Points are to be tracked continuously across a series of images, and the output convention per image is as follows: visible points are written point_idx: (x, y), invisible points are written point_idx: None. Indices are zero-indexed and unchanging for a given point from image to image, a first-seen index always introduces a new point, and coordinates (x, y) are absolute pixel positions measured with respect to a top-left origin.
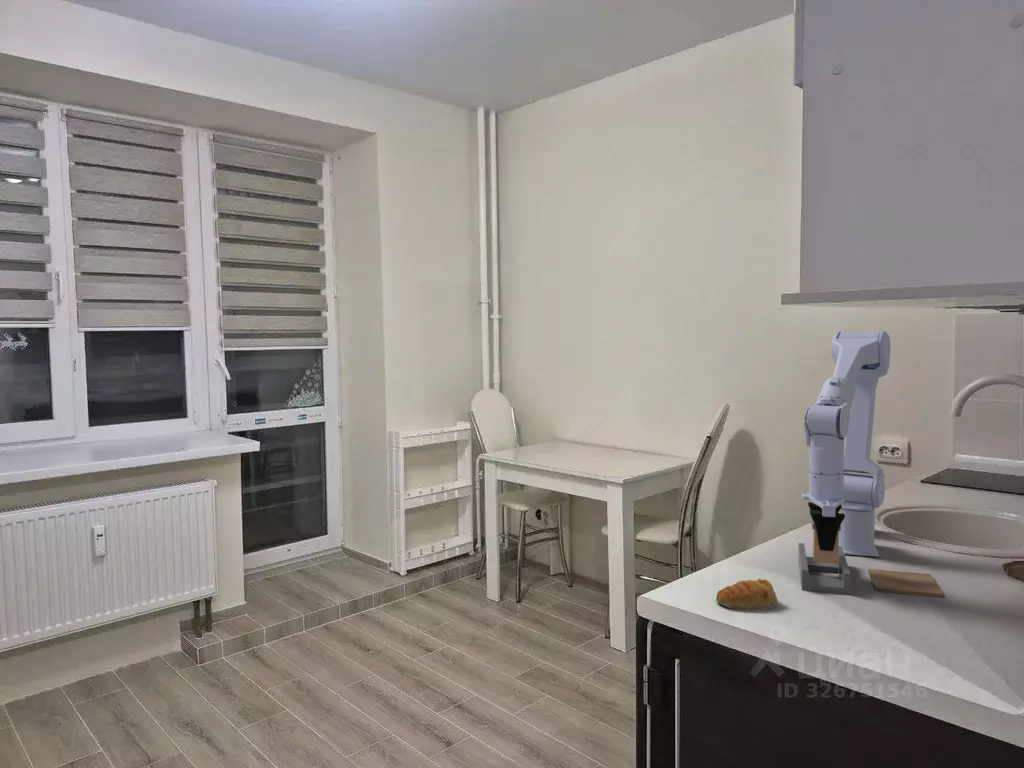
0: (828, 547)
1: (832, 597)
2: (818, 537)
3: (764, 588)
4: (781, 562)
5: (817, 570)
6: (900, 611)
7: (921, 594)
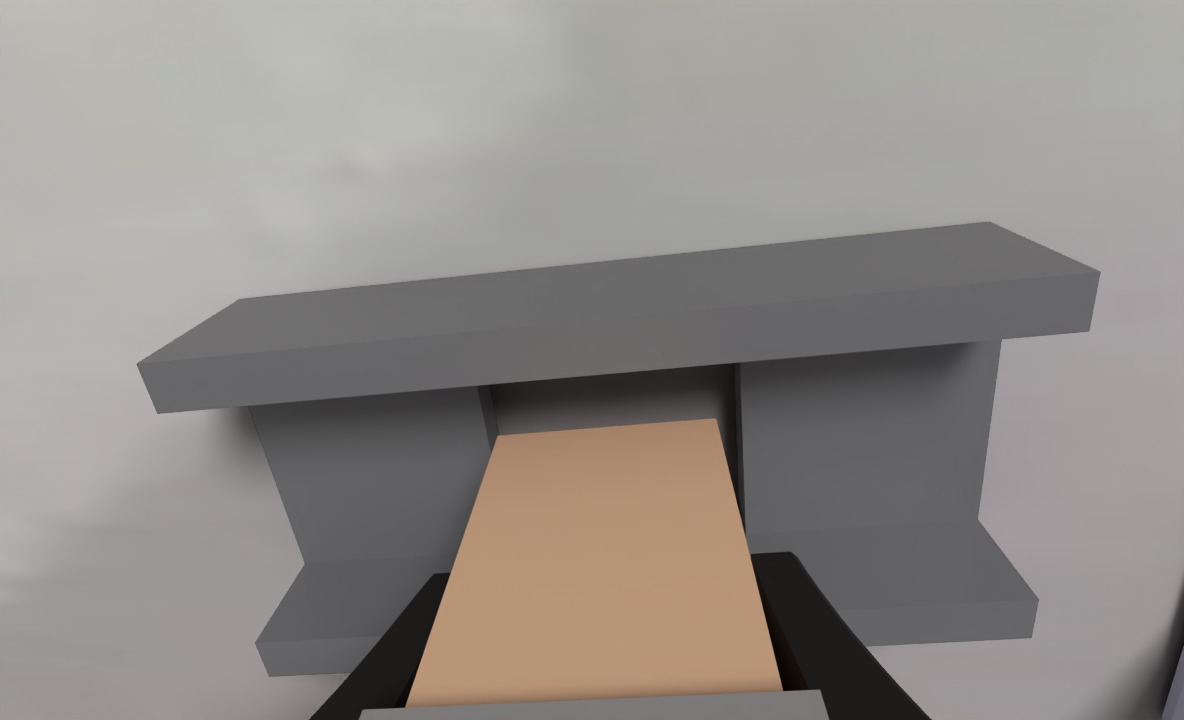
0: None
1: (218, 481)
2: (339, 687)
3: None
4: (906, 66)
5: (736, 383)
6: None
7: None
